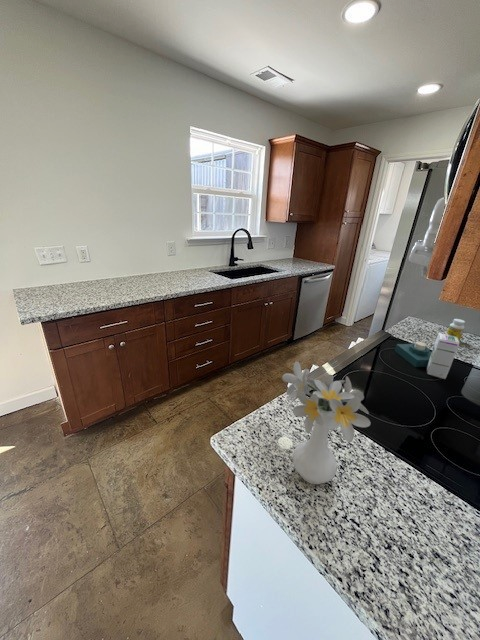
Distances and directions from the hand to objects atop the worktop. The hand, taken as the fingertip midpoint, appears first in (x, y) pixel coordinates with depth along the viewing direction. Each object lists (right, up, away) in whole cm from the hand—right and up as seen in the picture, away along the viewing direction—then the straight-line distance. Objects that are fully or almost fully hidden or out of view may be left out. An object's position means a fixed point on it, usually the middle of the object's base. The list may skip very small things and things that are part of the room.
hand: (425, 278), depth 104 cm
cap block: (-3, -32, 0) cm, 32 cm away
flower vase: (-58, -50, -45) cm, 89 cm away
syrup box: (-2, -36, -8) cm, 37 cm away
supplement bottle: (+24, -25, +17) cm, 39 cm away
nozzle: (-3, -27, -1) cm, 28 cm away
